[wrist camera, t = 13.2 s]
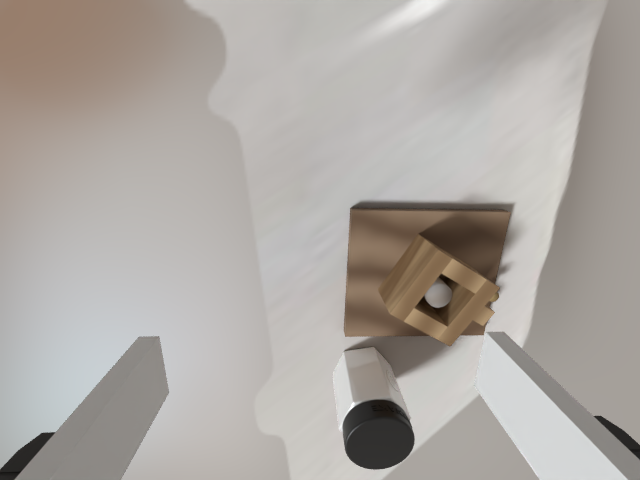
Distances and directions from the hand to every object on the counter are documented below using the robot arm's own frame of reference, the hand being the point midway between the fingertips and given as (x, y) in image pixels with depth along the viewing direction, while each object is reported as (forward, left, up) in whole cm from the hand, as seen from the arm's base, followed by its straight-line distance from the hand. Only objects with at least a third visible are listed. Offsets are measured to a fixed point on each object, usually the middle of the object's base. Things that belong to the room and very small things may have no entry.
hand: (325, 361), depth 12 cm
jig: (+8, +15, -27) cm, 31 cm away
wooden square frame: (+9, +17, -25) cm, 32 cm away
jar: (+24, +8, -27) cm, 37 cm away
